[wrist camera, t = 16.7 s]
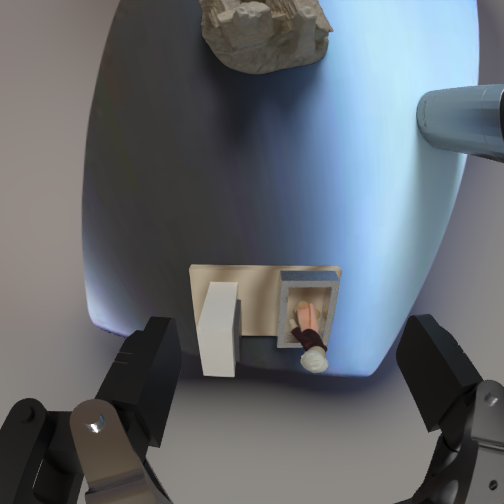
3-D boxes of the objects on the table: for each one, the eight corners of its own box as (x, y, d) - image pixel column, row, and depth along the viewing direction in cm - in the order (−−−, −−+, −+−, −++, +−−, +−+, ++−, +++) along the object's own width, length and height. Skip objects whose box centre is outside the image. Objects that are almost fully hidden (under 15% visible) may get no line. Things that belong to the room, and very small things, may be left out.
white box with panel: (242, 282, 41) (237, 330, 31) (242, 325, 44) (239, 377, 34) (210, 281, 41) (196, 329, 31) (214, 325, 44) (203, 375, 34)
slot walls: (334, 270, 40) (340, 280, 37) (324, 334, 44) (327, 346, 42) (280, 270, 40) (281, 280, 37) (276, 335, 45) (277, 347, 42)
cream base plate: (338, 266, 41) (341, 270, 40) (328, 328, 46) (329, 334, 44) (191, 264, 41) (189, 269, 40) (198, 328, 46) (197, 333, 45)
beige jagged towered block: (334, 70, 30) (369, 27, 16) (209, 83, 32) (172, 45, 18) (312, -17, 25) (327, -77, 11) (198, -4, 26) (166, -60, 12)
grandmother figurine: (330, 310, 42) (350, 367, 31) (316, 327, 44) (331, 386, 32) (290, 289, 41) (301, 348, 29) (276, 308, 42) (282, 368, 31)
